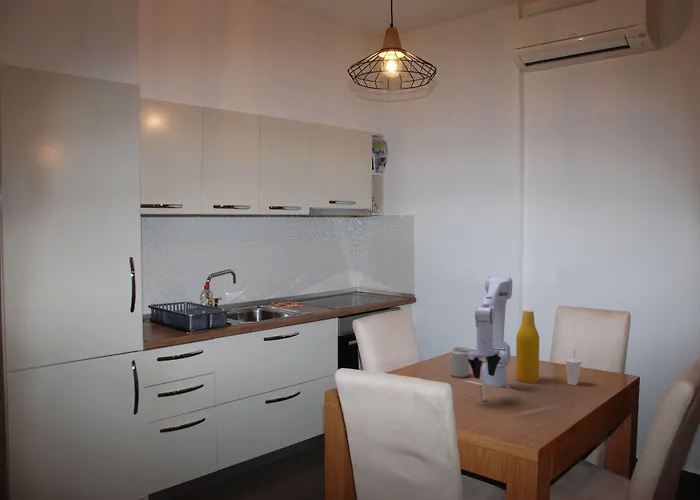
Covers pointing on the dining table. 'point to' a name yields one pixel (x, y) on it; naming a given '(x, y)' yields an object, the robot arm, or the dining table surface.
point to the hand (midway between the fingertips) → (484, 376)
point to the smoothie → (573, 369)
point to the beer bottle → (527, 350)
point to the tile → (474, 390)
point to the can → (459, 362)
